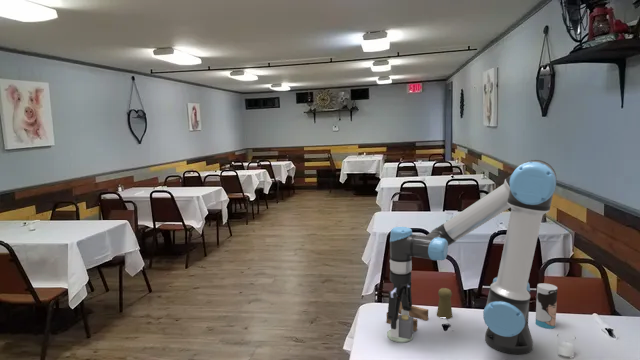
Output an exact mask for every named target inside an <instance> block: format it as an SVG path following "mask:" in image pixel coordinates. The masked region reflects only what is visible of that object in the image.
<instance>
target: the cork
mask: <svg viewBox="0 0 640 360" xmlns="http://www.w3.org/2000/svg"><path fill="white" fill-rule="evenodd" d="M437 294H438V297H439V299H438V304H437V309H436V310H437V312H436V317H438V318H440V317H446V318H447V319H446V320H449V319H452V318H453V310H452V301H451V298H452V295H453V292H452V290H451V289H449V288H448V287H447V288H446V287H441V288H439V290H438V293H437Z"/></svg>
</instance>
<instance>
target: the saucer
mask: <svg viewBox="0 0 640 360" xmlns="http://www.w3.org/2000/svg"><path fill="white" fill-rule="evenodd" d="M386 333H387V334H386V335H387V338H388V339H389V340H390V341H392V342H394V343H400V344H401V343H402V344H403V343H409V342H411V341H412V340H413V336H414V335H412V337H411V339H406V338H400V337H398V338H396V337H392V336H391V328H390V329H388V330H387V332H386Z"/></svg>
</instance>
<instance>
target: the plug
mask: <svg viewBox="0 0 640 360" xmlns="http://www.w3.org/2000/svg"><path fill="white" fill-rule="evenodd" d="M413 318H414V317H411V316H408V315H401V314H399V317H398V320H399V337H400V338H406V339H411V337H412V335H413V334H414V331H413ZM413 336H414V335H413Z"/></svg>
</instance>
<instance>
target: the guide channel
mask: <svg viewBox="0 0 640 360" xmlns="http://www.w3.org/2000/svg"><path fill="white" fill-rule="evenodd" d="M410 308H412V310H411V311H409V317H413V332H416V331H417V330H418V319H419V320H423V321H428V320H429V309H427V308H423V307H420V306H415V305H412V307H410ZM401 310H404V309H403V308H402V303H401V302H400V308H399V314H398V317H399V315H401ZM387 317H388V311H387V312H386V324H389V325H391V320H389V319H388V318H387Z"/></svg>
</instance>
